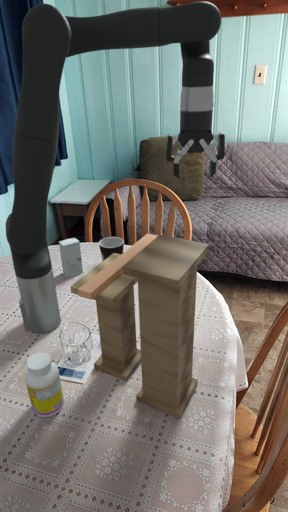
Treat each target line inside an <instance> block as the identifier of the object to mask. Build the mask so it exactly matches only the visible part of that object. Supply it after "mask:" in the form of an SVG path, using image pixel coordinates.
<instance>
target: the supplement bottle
mask: <svg viewBox="0 0 288 512" xmlns="http://www.w3.org/2000/svg"><path fill="white" fill-rule="evenodd" d="M26 368H27V370H26V372H25V374H24V382H25V386H26V388H27V392H28V397H29V400H30V405H31V408H32V412H33V413H34V414H35V415H36V416H37V417H40V418H49V417H53V416H55V415H57V414H58V413H59V412H60V411H61V410H62V408H63V407H64V403H65V396H64V391H63V387H62V381H61V376H60V372H59V367H58V365H57V364H56V363H54V361H52V356H51V355H50V354H49V353H47V352H37V353H33V354H32V355H31V356H30V357H29V358H28V359H27V360H26Z"/></svg>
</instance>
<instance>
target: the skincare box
mask: <svg viewBox="0 0 288 512" xmlns="http://www.w3.org/2000/svg"><path fill="white" fill-rule="evenodd" d="M80 243H81V242H80V240H78V239H77V238H76V237H71V238H65V239H64V240H60V241H58V245H59V253H60V254H59V255H60V259H61V260H60V261H61V269H62V272H63V274H64V275H65V277H66V278H69V277H73V276H77V275H79V274H82V273H83V272H84V270H83V261H82V252H81V244H80Z"/></svg>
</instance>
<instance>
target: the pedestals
mask: <svg viewBox="0 0 288 512" xmlns="http://www.w3.org/2000/svg"><path fill="white" fill-rule="evenodd" d="M209 248H210V244H209V243H204V242H200V241H194V240H190V239H184V238H178V237H175V236H169V235H163V234H159V235H158V237H157V238H156V239H154V240H153V241H152V242H151V243H150V244H149V245H147V246H146V247H145V248H144V249H143V250H142V251H140V252H139V253H138V254H137V255H136V256H135V257H133V258H132V259H131V260H130V261H129V262H128V263H126V264H125V265H124V266H123V273H122V274H121V275H119V276H118V277H117V278H116V279H115V280H114V281H113V282H111V283H110V284H109V285H108V286H107V287H106V288H105V289H103V290H102V291H101V292H100V293H99V294H98V295H97V296H96V297H94V298H93V299H92V301H93V300H94V301H95V306H96V313H97V314H96V315H97V323H98V325H97V326H98V333H99V340H100V341H99V342H100V352H101V355H100V356H99V357H98V359H97V360H96V361H95V362H94V363H93V369H94V370H97V371H100V372H102V373H105V374H107V375H110V376H112V377H115V378H117V379H120V380H122V381H124V382H128V380H130V378H131V377H132V375H133V374H134V373H135V371H136V370H137V368H139V366H140V365H141V388H140V389H139V391H137V394H136V396H135V398H136V401H137V402H139V403H142V404H143V405H146V406H148V407H151V408H153V409H155V410H157V411H160V412H163V413H165V414H167V415H169V416H171V417H174V418H176V419H178V420H180V419H181V417H182V415H183V413H184V411H185V409H186V407H187V406H188V403H189V401H190V399H191V398H192V396H193V394H194V391H195V390H196V387H197V386H198V382H199V381H198V379H197V378H194V377H193V362H194V359H193V358H194V341H195V340H194V339H195V338H194V337H195V323H196V322H195V321H196V319H195V317H196V297H197V278H198V275H197V274H198V265H199V264H200V263H201V261H202V260H203V259H204V258H205V257H206V255H208V253H209V250H210V249H209ZM120 255H121V254H116V253H113V254H112V255H110V256H109V257H108V258H107V259H105V260H104V261H103V260H102V262H100V263H99V264H97V265H96V266H94V267H93V268H92V269H91V270H90V271H88V272H86V274H85V275H83V276H82V277H80V278H79V279H78V280H76V282H74V283H73V284H72V285H70V293H71V294H73V295H76V296H79V295H78V289H79V288H80V287H81V286H83V285H84V284H85V283H86V282H88V281H89V280H90V279H91V278H93V277H94V276H95V275H96V274H98V273H99V272H100V271H101V270H103V269H104V268H105V267H106V266H108V265H109V264H110V263H111V262H113V261H114V260H115V259H116V258H118V257H119V256H120ZM136 284H137V295H138V297H137V298H138V315H139V317H138V318H139V338H140V339H139V342H140V349H138V347H137V345H138V344H137V327H136V309H135V307H136V306H135V288H134V287H135V286H136Z"/></svg>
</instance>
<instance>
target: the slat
mask: <svg viewBox="0 0 288 512" xmlns="http://www.w3.org/2000/svg"><path fill="white" fill-rule="evenodd" d="M158 236H159V235H158V234H151V233H146V234H145V235H144V236H142V237H141V238H140V239H139V240H137V241H136V242H134V244H132V245H131V246H130V247H129V248H128V249H126V250H125V251H123V254H121V255H120V256H119V257H118V258H116V259H115V260H114V261H113V262H111V263H110V264H109V265H108V266H106V267H105V268H104V269H103V270H101V271H100V272H99V273H98V274H96V275H95V276H94V277H93V278H91V279H90V280H89V281H88V282H86V283H85V284H84V285H83V286H81V287H80V288H79V289H78V295H77V296H79V297H80V298H83V299H86V300H87V299H88V300H91V301H93V298H94V297H96V296H97V295H98V294H99V293H100V292H101V291H102V290H103V289H105V288H106V287H107V286H108V285H109V284H110V283H111V282H113V281H114V280H115V279H116V278H117V277H118V276H119V275H121V274H122V273H123V266H124V265H125V264H126V263H128V262H129V261H130V260H131V259H132V258H133V257H135V256H136V255H137V254H138V253H139V252H140V251H142V250H143V249H144V248H145V247H146V246H147V245H149V244H150V243H151V242H152V241H153V240H154V239H156V238H157V237H158Z"/></svg>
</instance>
